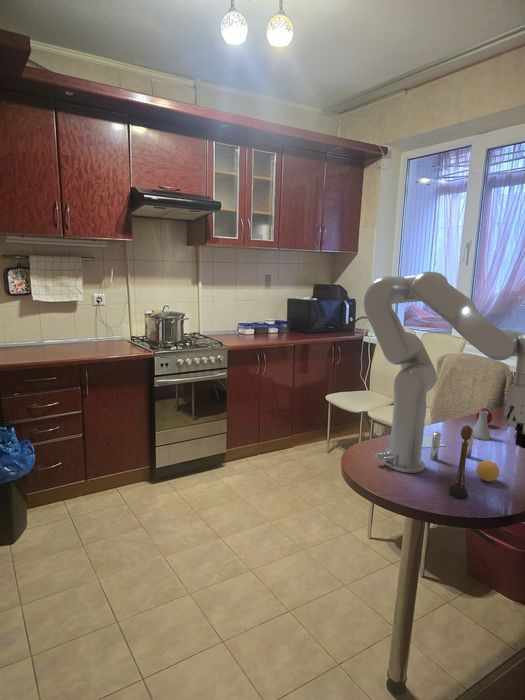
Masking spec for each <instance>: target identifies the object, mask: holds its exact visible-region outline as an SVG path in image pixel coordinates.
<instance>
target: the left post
mask: <svg viewBox="0 0 525 700" xmlns="http://www.w3.org/2000/svg"><path fill="white" fill-rule="evenodd" d="M431 437H432V445H431V447H430V455H429V459H430V460H431V461H435V462H436V461H438V459H439V452H440V447H439V446H440V443H441V437H442V433H441V432H439V431H433V432H432V436H431Z"/></svg>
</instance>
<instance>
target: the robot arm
mask: <svg viewBox="0 0 525 700" xmlns="http://www.w3.org/2000/svg"><path fill="white" fill-rule="evenodd" d="M417 302H422V303H423V305H426V306H427V307H428V308H429V309H431V311H433V312H435V314H437V315H439V317H440V318H441V319H443V320H444V321H445V322H447V323H448V324H449V325H450V326H451V328H453V329H454V330H455V331H456V332H457V333H458V334H459V336H461V337H462V338H463V339H465V341H467V343H469V344H470V345H471V346H472V347H474V348H475V349H477V350H478V352H480V353H481V354H483V355H484V356H486V357H487V358H489V359H491V360H494V361H499V362H500V361H501V362H502V361H505V360H507V359H509V358H511V357H516V366H515V367H516V368H515V374H514V381H513V383H511V386H510V387H509V390H508V394H507V397H506V401H505V408H504V411H503V412H504V413H503V414H504V415H503V416H504V418H505V419H506V420H508V421H507V424H506V425H507V426H509V427H511V428H514V431H515V432H516V436H515V446H518V447H519V448H522V449H525V332H520V331H516V330H510V329H500V328H499V327H498V326H497V325H496V324H493V323H492V322H491V321H489V319H487V318H486V317H485V316H483V314H482V313H480V310H478V308H477V307H476V305H475V304H474V301H473V300H471V298H469V297H468V296H467V295H465V294H464V293H463V292H461V291H460V290H458V289H457V288H456V287H454V286H453V285H452V284H450V283H449V282H448V279H447V277H445V276H444V275H443V274H442V273H440V272H437V271H423V272H421V273H419V274H414V275H405V276H388V275H387V276H382V277H379V278H377V279H375V280H373V281H372V282H371V284H369V286H368V287H367V289H366V291H365V294H364V296H363V308H364V312H365V315H366V318H367V321H368V322H369V324H370V326H371V328H372V330H373V334H374V335H375V337H376V340H377V342H378V344H379V347H380V349H381V351H382V353H383V355H384V357H385V359H386V360H387V361H388V362H389V363H390V364H392V365H395V366H398V365H400V367H401V370H400V371H399V372H398V373H397V374H396V376H395V378H394V382H393V410H392V420H391V421H392V422H391V431H390V432H391V433H390V440H389V447H388V448H387V447H386V449H385V451H383V452H375V453H374V459H376V460H382V461H383V464H384V465H385V466H387V467H388V468H390V469H391V470H394V471H397V472H401V473H409V474H415V473H416V474H417V473H421V472H423V471H424V470H425V469H426V463H425V462H424V461H423V460H422V458H421V456H422V450H423V448H422V442H423V436H424V433H425V424H426V413H427V393H428V392H429V391H431V390H432V389H433V388H434V387H435V386H436V383H437V379H438V377H437V370H436V369H435V366H434V364H433V362H432V360H431V357H430V356H429V354H428V351H427V350H426V348H425V345H424V344H423V341H422V340H421V339H420V337H418V336H417V334H415V333H413V332H410V331H406V330H405V329H404V326H403V325H402V323H401V319H400V318H399V316H398V315H397V313H396V312H395V310H394V308H393V305H395V304H405V303H406V304H407V303H417Z"/></svg>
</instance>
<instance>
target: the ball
mask: <svg viewBox="0 0 525 700" xmlns="http://www.w3.org/2000/svg"><path fill="white" fill-rule="evenodd" d="M476 474H477V477H479V479H481V480H483V481H485V482H493V481H495V480H496V479H498V478H499V476H500V468H499V466H498V465H497V464H496V463H495V462H494V461H491V460H487V459H486V460H482V461H481V462H479V463H477V466H476Z"/></svg>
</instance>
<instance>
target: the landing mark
mask: <svg viewBox="0 0 525 700" xmlns="http://www.w3.org/2000/svg"><path fill="white" fill-rule="evenodd" d="M432 437H433V436H431V435H423V442H422V449H426V448H429V449H430V448H431V445H432ZM440 447H446V444H444V443H442V442H440V446H439V448H440Z"/></svg>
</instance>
